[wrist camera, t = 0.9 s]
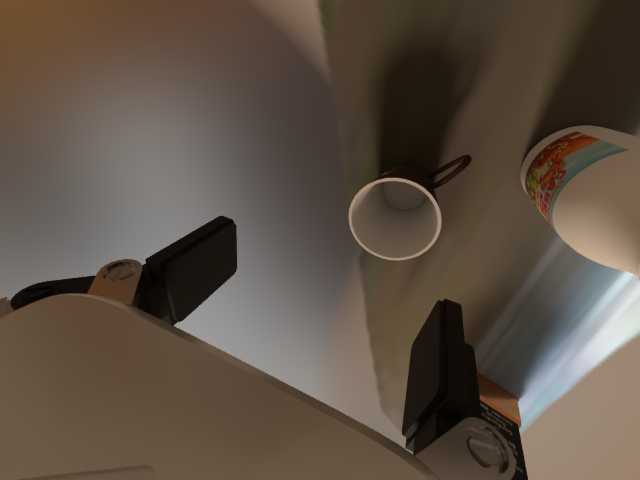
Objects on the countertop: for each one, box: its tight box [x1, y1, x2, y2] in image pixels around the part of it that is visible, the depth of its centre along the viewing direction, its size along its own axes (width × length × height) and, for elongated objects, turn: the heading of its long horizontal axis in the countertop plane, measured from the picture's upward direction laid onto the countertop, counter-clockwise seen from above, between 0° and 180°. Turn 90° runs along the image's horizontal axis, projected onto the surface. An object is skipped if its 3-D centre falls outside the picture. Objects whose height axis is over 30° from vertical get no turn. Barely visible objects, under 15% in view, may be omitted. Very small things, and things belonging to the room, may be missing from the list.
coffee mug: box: [349, 155, 472, 260], centre depth 29 cm, size 12×9×10 cm
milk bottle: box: [520, 125, 640, 281], centre depth 18 cm, size 8×8×20 cm
